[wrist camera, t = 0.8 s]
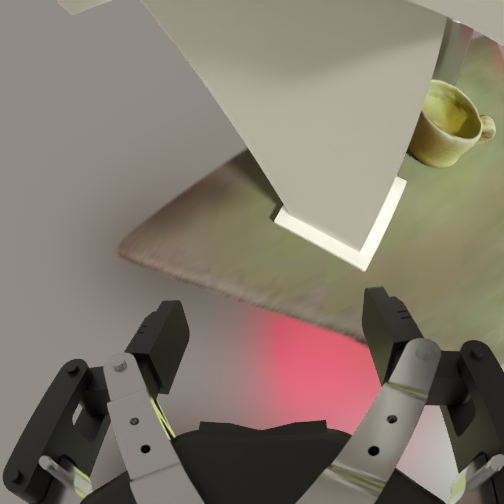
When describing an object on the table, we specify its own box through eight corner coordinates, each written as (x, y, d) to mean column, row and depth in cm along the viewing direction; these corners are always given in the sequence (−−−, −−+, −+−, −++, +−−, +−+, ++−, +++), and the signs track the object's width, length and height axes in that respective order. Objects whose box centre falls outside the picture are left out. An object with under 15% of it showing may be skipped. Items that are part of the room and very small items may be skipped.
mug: (391, 163, 30) (425, 102, 20) (393, 115, 33) (416, 61, 24) (469, 201, 28) (513, 155, 19) (461, 149, 32) (492, 105, 22)
